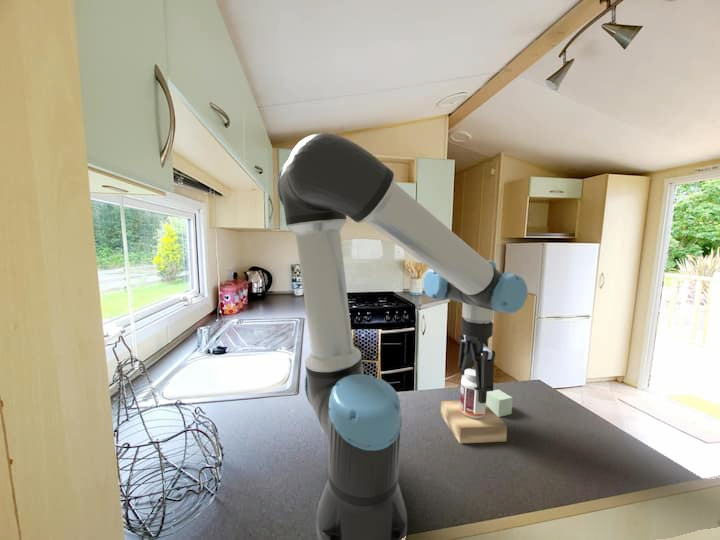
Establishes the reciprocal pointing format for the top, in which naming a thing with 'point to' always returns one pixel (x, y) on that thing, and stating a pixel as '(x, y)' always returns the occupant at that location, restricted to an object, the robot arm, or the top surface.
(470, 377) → the pill bottle
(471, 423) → the oak block
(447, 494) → the top surface
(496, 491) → the top surface
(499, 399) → the sage cube
